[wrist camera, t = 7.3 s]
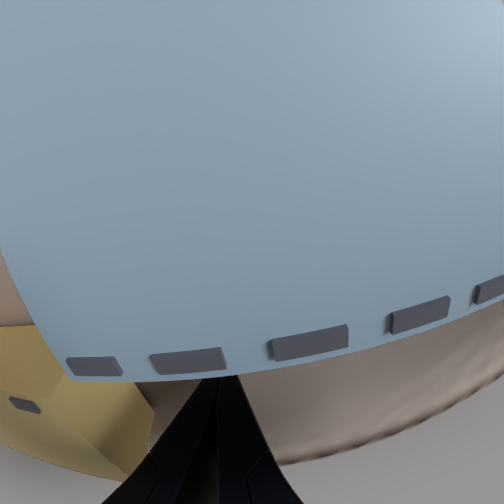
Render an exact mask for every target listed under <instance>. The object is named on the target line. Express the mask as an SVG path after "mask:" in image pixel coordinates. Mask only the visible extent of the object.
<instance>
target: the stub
mask: <svg viewBox="0 0 504 504" xmlns="http://www.w3.org/2000/svg"><path fill="white" fill-rule="evenodd" d="M154 417H155V412H154V411H153V409H152V408H151V407H150V405H149V404H148V402H147V401H146V400H145V398H144V397H143V395H142V394H141V392H140V391H139V389H138V388H137V386H136V385H135V383H134V382H86V381H71V379H70V378H69V377H68V375H67V374H66V373H65V371H64V370H63V368H62V367H61V365H60V364H59V362H58V361H57V359H56V358H55V356H54V355H53V353H52V352H51V350H50V349H49V347H48V345H47V344H46V342H45V341H44V339H43V337H42V336H41V334H40V332H39V331H38V329H37V327H36V325H25V326H9V327H0V443H2V444H4V445H6V446H8V447H10V448H12V449H15V450H17V451H20V452H22V453H24V454H27V455H29V456H32V457H34V458H37V459H40V460H42V461H46V462H48V463H51V464H54V465H57V466H60V467H63V468H67V469H70V470H73V471H77V472H81V473H84V474H88V475H93V476H97V477H101V478H106V479H110V480H116V481H121V482H124V481H125V480H126V479H127V478H128V477H129V476H130V475H131V474H132V473H133V471H134V470H135V469H136V468H137V467H138V465H139V464H140V463H141V462H142V460H143V459H144V458H145V455H146V451H147V446H148V442H149V438H150V433H151V429H152V425H153V421H154Z"/></svg>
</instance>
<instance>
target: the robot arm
mask: <svg viewBox="0 0 504 504" xmlns="http://www.w3.org/2000/svg"><path fill="white" fill-rule="evenodd" d="M102 504H303V502H302V501H301V500H300V498H299V497H298V496H297V494H296V493H295V492H294V491H293V489H292V488H291V486H290V485H289V483H288V482H287V480H286V479H285V477H284V476H283V474H282V472H281V470H280V468H279V466H278V465H277V463H276V461H275V459H274V457H273V454H272V452H271V451H270V448H269V446H268V444H267V442H266V440H265V437H264V435H263V433H262V431H261V429H260V426H259V424H258V422H257V420H256V417H255V415H254V413H253V410H252V408H251V406H250V403H249V401H248V399H247V396H246V394H245V392H244V389H243V387H242V384H241V382H240V380H239V377H238V375H231V376H222V377H213V378H203V379H202V381H201V382H200V383H199V385H198V386H197V388H196V389H195V390H194V392H193V393H192V395H191V396H190V397H189V399H188V400H187V401H186V403H185V404H184V406H183V407H182V408H181V410H180V411H179V412H178V414H177V415H176V417H175V418H174V419H173V421H172V422H171V423H170V425H169V426H168V427H167V429H166V430H165V431H164V433H163V434H162V436H161V437H160V438H159V440H158V441H157V442H156V444H155V445H154V446H153V448H152V449H151V450H150V453H148V454H147V455H146V457H145V458H144V459H143V460H142V462H141V463H140V464H139V465H138V467H137V468H136V469H135V470H134V471H133V473H132V474H131V475H130V476H129V477H128V478H127V479H126V480H125V481H124V482H123V483H122V484H121V486H119V488H117V489H116V490H115V491H114V492H113V493H112V494H111V495H110V496H109V497H108V498H107V499H106V500H105V501H104V502H103V503H102Z"/></svg>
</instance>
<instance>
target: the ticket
mask: <svg viewBox="0 0 504 504" xmlns="http://www.w3.org/2000/svg"><path fill="white" fill-rule="evenodd" d="M0 251H1V254H2V256H3V259H4V261H5V264H6V266H7V269H8V271H9V273H10V275H11V278H12V280H13V282H14V284H15V287H16V289H17V291H18V293H19V295H20V297H21V299H22V301H23V303H24V305H25V307H26V309H27V311H28V313H29V314H30V316H31V318H32V320H33V322H34V324H35V325H36V327H37V329H38V331H39V332H40V334H41V336H42V337H43V339H44V341H45V342H46V344H47V345H48V347H49V349H50V350H51V352H52V353H53V355H54V356H55V358H56V359H57V361H58V362H59V364H60V365H61V367H62V368H63V370H64V371H65V373H66V374H67V375H68V377H69V378H70V379H71V381H86V382H156V381H176V380H190V379H202V378H213V377H222V376H231V375H239V374H246V373H253V372H260V371H266V370H273V369H279V368H284V367H290V366H295V365H300V364H306V363H310V362H315V361H320V360H324V359H329V358H333V357H338V356H342V355H346V354H350V353H354V352H358V351H362V350H365V349H369V348H373V347H376V346H380V345H383V344H387V343H390V342H393V341H397V340H400V339H403V338H406V337H409V336H412V335H415V334H418V333H421V332H424V331H427V330H430V329H433V328H436V327H438V326H441V325H444V324H446V323H449V322H452V321H454V320H457V319H459V318H462V317H464V316H467V315H469V314H472V313H474V312H476V311H479V310H481V309H483V308H486V307H488V306H490V305H492V304H495V303H497V302H499V301H501V300H503V299H504V5H503V3H502V0H0Z"/></svg>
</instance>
